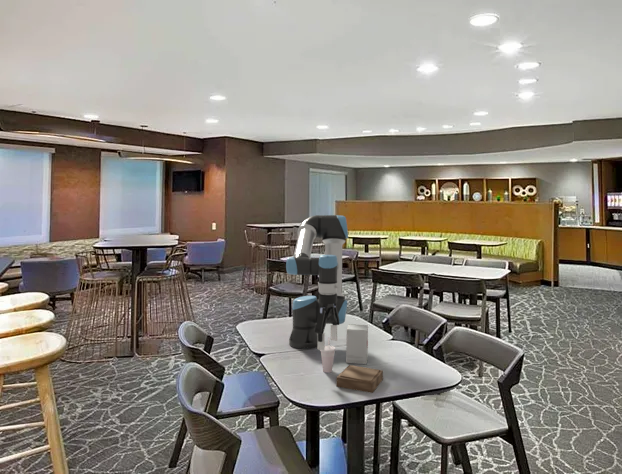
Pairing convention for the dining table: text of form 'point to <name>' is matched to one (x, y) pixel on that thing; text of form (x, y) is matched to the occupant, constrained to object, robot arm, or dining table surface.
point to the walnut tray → (359, 378)
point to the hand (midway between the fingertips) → (327, 344)
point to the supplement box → (357, 344)
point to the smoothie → (327, 357)
